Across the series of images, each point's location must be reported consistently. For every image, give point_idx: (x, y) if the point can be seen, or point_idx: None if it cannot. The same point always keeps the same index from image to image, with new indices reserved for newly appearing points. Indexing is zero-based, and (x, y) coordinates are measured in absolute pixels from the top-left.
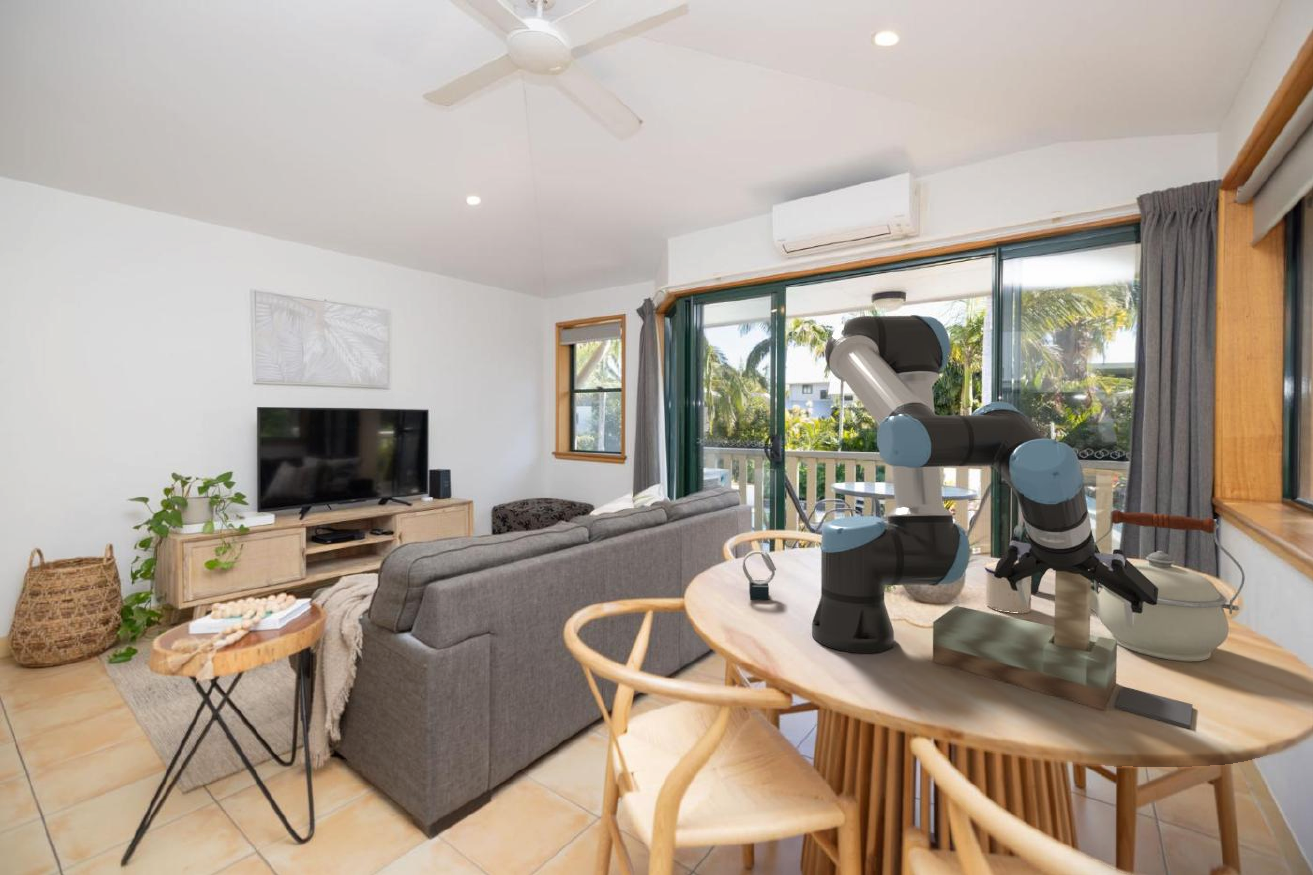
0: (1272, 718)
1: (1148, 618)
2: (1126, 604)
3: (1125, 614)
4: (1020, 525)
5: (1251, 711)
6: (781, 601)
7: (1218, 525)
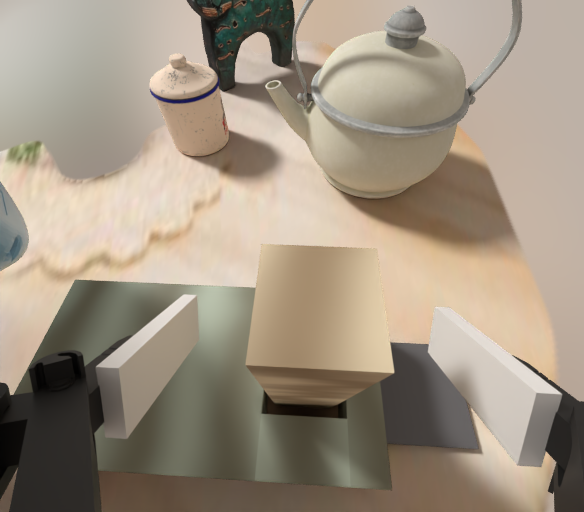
0: (519, 312)
1: (382, 164)
2: (525, 463)
3: (464, 398)
4: None
5: (497, 305)
6: None
7: None
